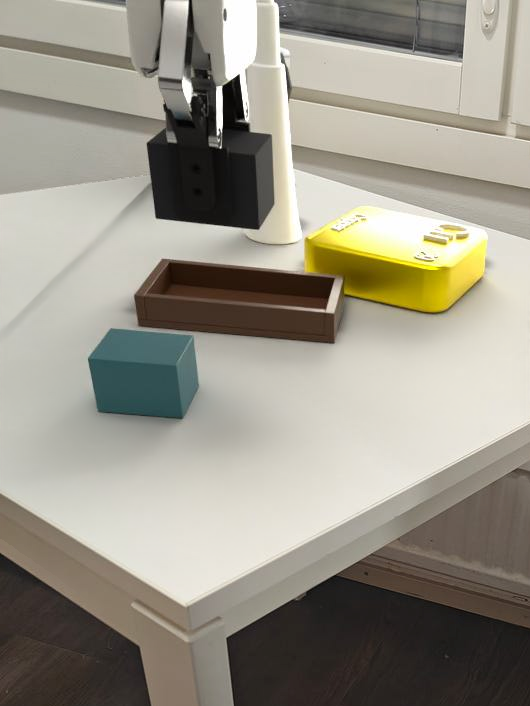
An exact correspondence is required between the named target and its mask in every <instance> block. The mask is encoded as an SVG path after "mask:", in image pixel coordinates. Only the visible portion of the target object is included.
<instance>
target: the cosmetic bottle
mask: <svg viewBox="0 0 530 706" xmlns="http://www.w3.org/2000/svg"><path fill="white" fill-rule="evenodd" d="M280 47H281V41H280V16H279V5H278V4H277V2H275V0H256V53H255V58H254V60H253V62H252V63H251V64H250V65H249V66H248V67H247V92H248V108H249V115H248V123H250V129H251V132H255V133H264V134H271V135H272V150H273V175H274V201H275V204H274V206H273V208H272V209H271V211H270V213H269V214H268V216H267V217H266V219H265V221H264V222H263V224H262V226H261V227H260V229H259V230H254V229H245V235H246V237H248V239H250V240H252V241H254V242H258V243H262V244H266V245H289V244H293V243H297V242H299V241H300V240H301V239H302V237H303V232H302V229H301V223H300V218H299V217H300V216H299V211H298V210H299V209H298V204H297V196H296V187H294V177H293V171H294V166H292V165H293V153H292V142H291V141H292V140H291V128H290V115H289V114H290V113H289V103H288V98H287V86H286V75H285V66H284V65H283V64H282V63H280Z"/></svg>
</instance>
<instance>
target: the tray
mask: <svg viewBox="0 0 530 706" xmlns="http://www.w3.org/2000/svg"><path fill="white" fill-rule="evenodd" d="M133 299H134V305H135V312H136V319H137V325H138V326H139V327H147V328H148V327H150V328H159V329H160V328H161V329H171V330H183V331H195V332H205V333H206V332H207V333H218V334H226V335H227V334H229V335H239V336H240V335H241V336H249V337H261V338H262V337H263V338H272V339H273V338H274V339H283V340H284V339H285V340H296V341H306V342H307V341H308V342H317V343H330V344H335V342H336V337H337V334H338V329H339V326H340V322H341V319H342V314H343V309H344V307H345V294H344V276H341V275H330V274H320V273H309V272H305V271H297V270H286V269H277V268H265V267H256V266H245V265H236V264H235V265H234V264H224V263H214V262H213V263H212V262H203V261H193V260H181V259H171V258H164V257H163V258H161V259H160V261H159V262H158V263H157V265H156V266H155V267H154V268H153V269H152V271H151V273H149V275H148V276H147V277H146V279H145V280H144V281H143V283H142V284H141V285H140V287H139V288H138V289H137V291H136V292H135V293H134V294H133Z"/></svg>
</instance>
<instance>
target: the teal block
mask: <svg viewBox="0 0 530 706" xmlns="http://www.w3.org/2000/svg"><path fill="white" fill-rule="evenodd" d="M87 363H88V368H89V372H90V378H91V382H92V388H93V394H94V400H95V405H96V410H97V412H99V413H102V412H103V413H110V414H111V413H112V414H124V415H137V416H147V417H148V416H149V417H163V418H172V419H173V418H175V419H184V417H185V415H186V412H187V411H188V410H189V409H188V408H189V407H190V405H191V403H192V401H193V399H194V397H195V395H196V393H197V392H198V391H197V390H198V389H199V387H200V382H199V373H198V364H197V354H196V344H195V336H194V334H193V335H192V334H181V333H172V332H171V333H170V332H159V331H149V330H135V329H124V328H115V327H114V328H113V327H111V328H109V330H108V331H107V332H106V333H105V335H104V336H103V338H102V339H101V340H100V341H99V343H98V344H97V346H96V347H95V348H94V349H93V350H92V352H91V353H90V355H89V356H88V357H87Z"/></svg>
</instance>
